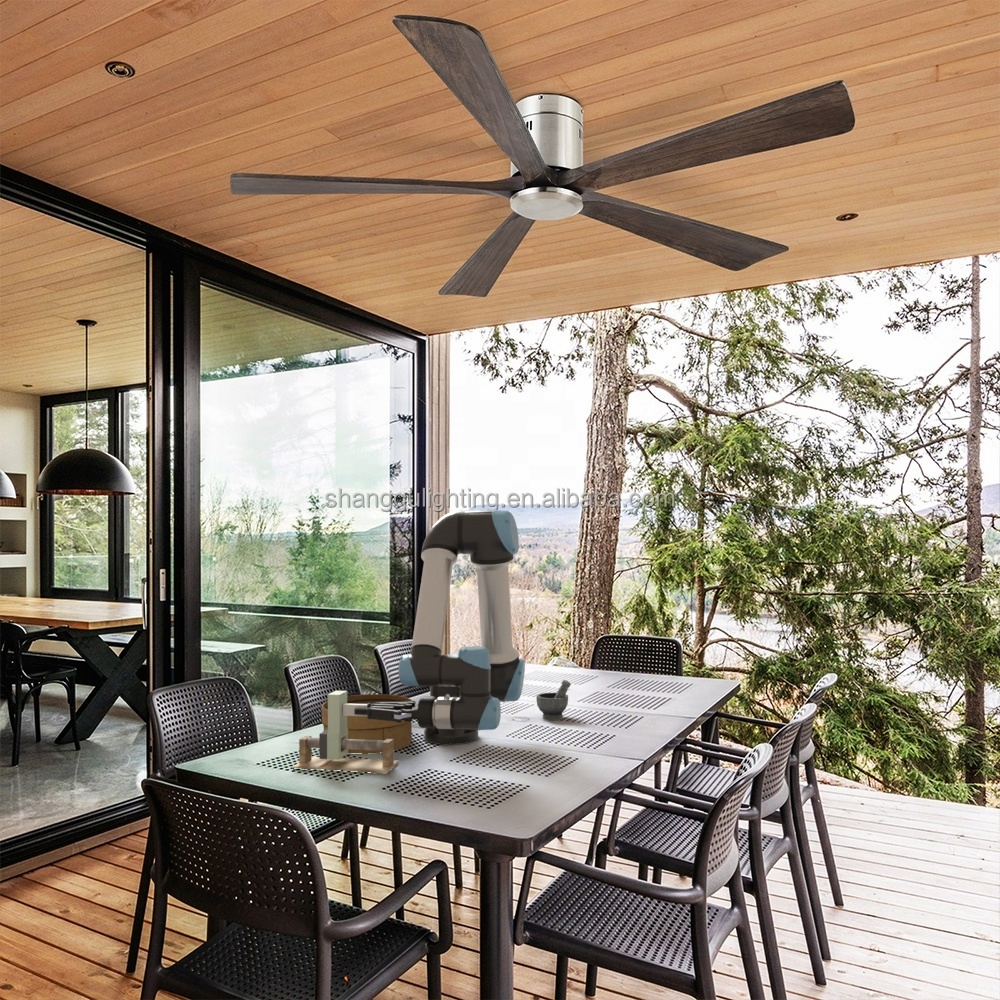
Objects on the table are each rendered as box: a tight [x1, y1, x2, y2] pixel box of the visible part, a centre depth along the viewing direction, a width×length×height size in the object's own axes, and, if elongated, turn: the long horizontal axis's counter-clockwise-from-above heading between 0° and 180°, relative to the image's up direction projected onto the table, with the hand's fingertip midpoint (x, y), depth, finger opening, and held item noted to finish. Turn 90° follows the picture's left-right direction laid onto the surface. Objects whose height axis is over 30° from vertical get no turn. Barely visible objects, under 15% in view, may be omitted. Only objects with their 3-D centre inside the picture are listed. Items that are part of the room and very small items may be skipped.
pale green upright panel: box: [327, 690, 348, 760], centre depth 197 cm, size 3×6×16 cm, turn 169°
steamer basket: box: [321, 693, 413, 755], centre depth 220 cm, size 25×25×11 cm
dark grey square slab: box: [318, 729, 328, 759], centre depth 198 cm, size 2×6×6 cm, turn 169°
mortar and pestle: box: [536, 679, 572, 721], centre depth 247 cm, size 11×9×12 cm
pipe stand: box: [292, 735, 400, 775], centre depth 197 cm, size 24×9×7 cm, turn 79°
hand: (344, 709), depth 197 cm, fingers closed
